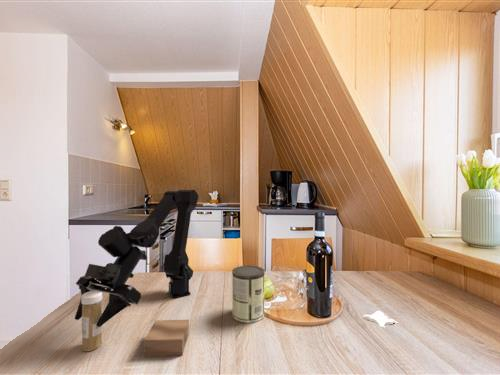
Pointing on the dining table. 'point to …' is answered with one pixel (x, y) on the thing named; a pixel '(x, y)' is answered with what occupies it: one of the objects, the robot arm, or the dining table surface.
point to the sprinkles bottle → (91, 320)
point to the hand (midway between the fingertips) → (86, 322)
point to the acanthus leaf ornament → (379, 319)
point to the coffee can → (248, 293)
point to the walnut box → (166, 338)
